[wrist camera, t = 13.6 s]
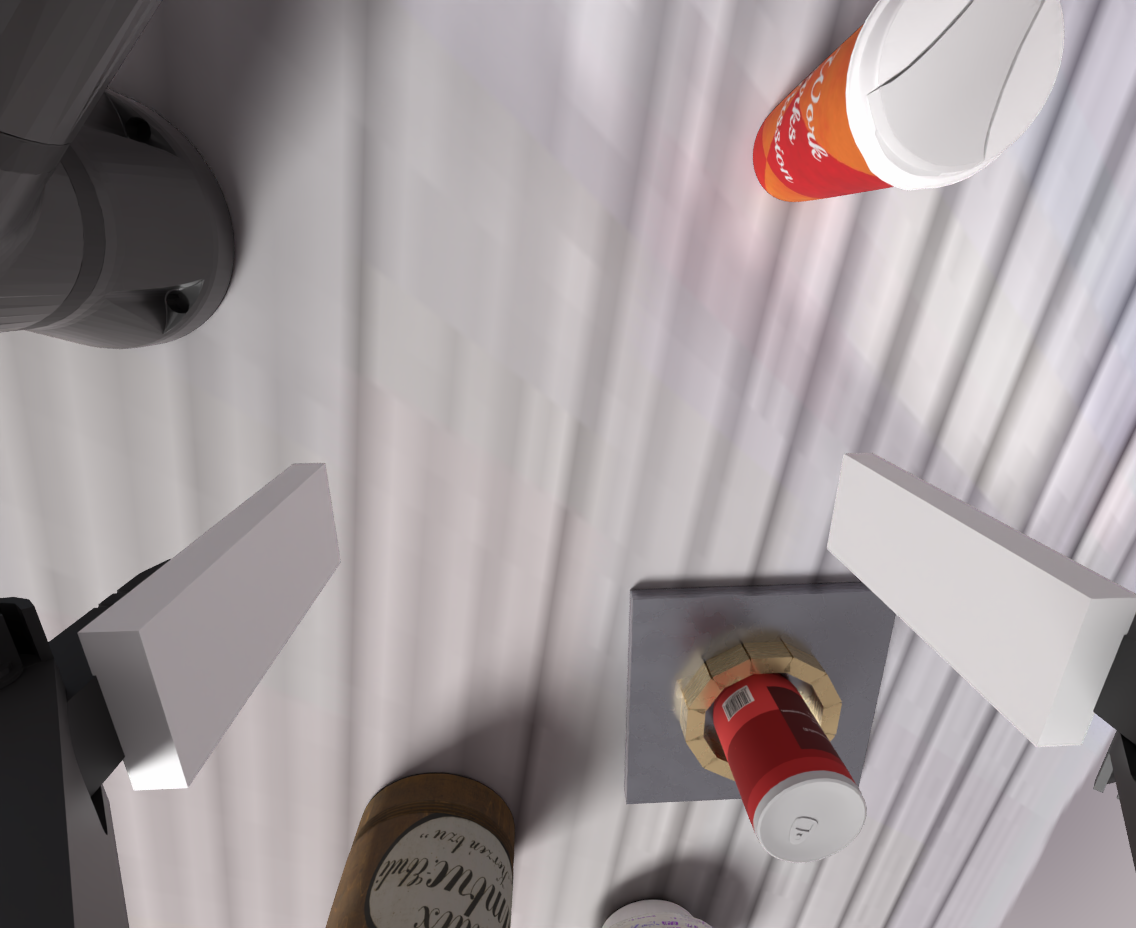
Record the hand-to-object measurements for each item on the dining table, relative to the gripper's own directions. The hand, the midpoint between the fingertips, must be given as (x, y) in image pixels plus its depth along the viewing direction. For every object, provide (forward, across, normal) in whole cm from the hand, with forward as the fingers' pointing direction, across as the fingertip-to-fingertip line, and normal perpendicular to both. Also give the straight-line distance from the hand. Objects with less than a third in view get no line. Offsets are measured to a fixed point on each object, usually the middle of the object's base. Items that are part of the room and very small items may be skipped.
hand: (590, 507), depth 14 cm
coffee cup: (+26, +16, +13) cm, 33 cm away
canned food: (+24, +17, -30) cm, 42 cm away
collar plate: (+26, +17, -30) cm, 43 cm away
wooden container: (+26, -12, -45) cm, 54 cm away
